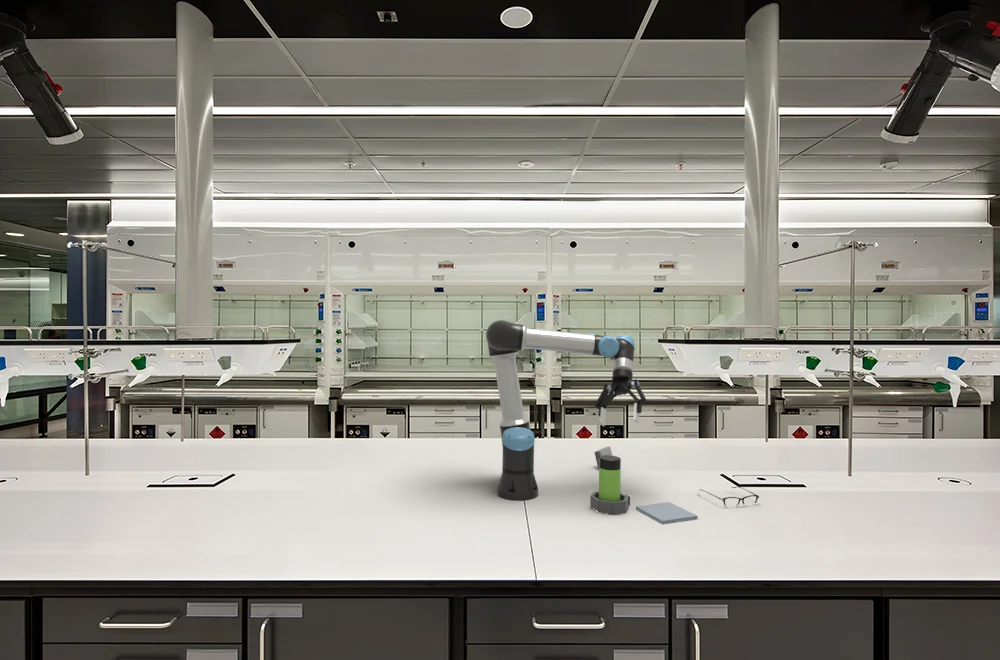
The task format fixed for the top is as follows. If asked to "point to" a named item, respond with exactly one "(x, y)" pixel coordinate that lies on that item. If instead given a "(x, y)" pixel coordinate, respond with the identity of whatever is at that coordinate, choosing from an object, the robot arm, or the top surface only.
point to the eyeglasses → (736, 497)
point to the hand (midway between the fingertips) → (618, 423)
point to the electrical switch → (602, 453)
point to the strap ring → (610, 504)
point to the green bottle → (609, 478)
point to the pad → (666, 512)
